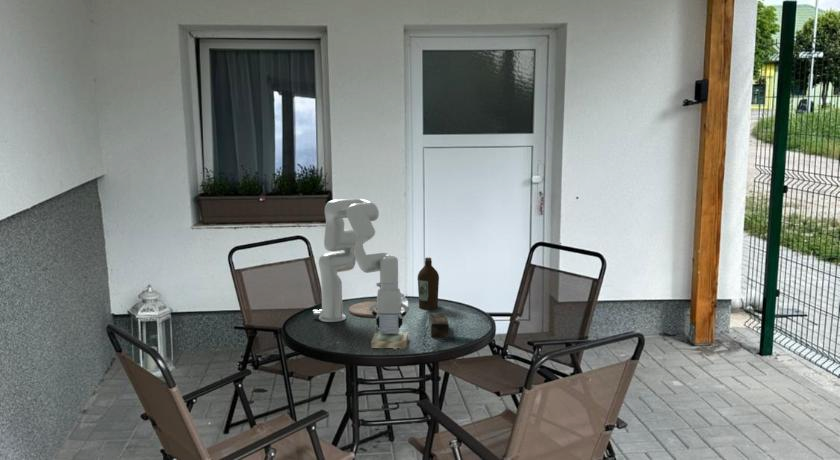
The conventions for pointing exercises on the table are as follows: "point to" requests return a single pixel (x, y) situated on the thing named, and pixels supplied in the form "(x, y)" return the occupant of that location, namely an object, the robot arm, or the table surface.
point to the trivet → (362, 309)
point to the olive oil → (428, 286)
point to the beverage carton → (438, 325)
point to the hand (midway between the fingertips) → (389, 326)
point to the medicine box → (388, 323)
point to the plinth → (389, 344)
